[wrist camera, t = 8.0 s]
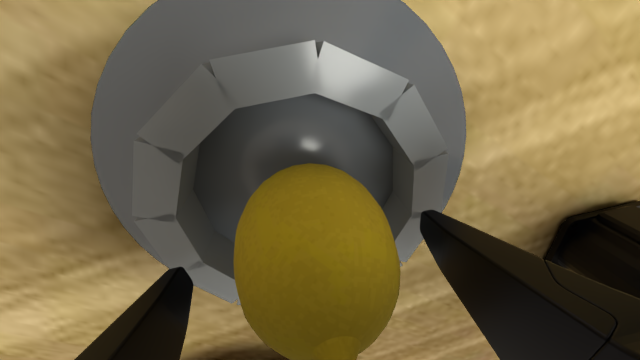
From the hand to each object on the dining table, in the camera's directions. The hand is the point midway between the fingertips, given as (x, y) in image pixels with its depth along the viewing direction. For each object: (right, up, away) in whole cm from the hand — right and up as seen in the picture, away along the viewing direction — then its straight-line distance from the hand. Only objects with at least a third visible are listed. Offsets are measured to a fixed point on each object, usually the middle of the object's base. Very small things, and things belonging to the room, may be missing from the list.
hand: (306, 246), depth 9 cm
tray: (-1, +2, +4) cm, 5 cm away
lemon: (-1, +2, +4) cm, 4 cm away
